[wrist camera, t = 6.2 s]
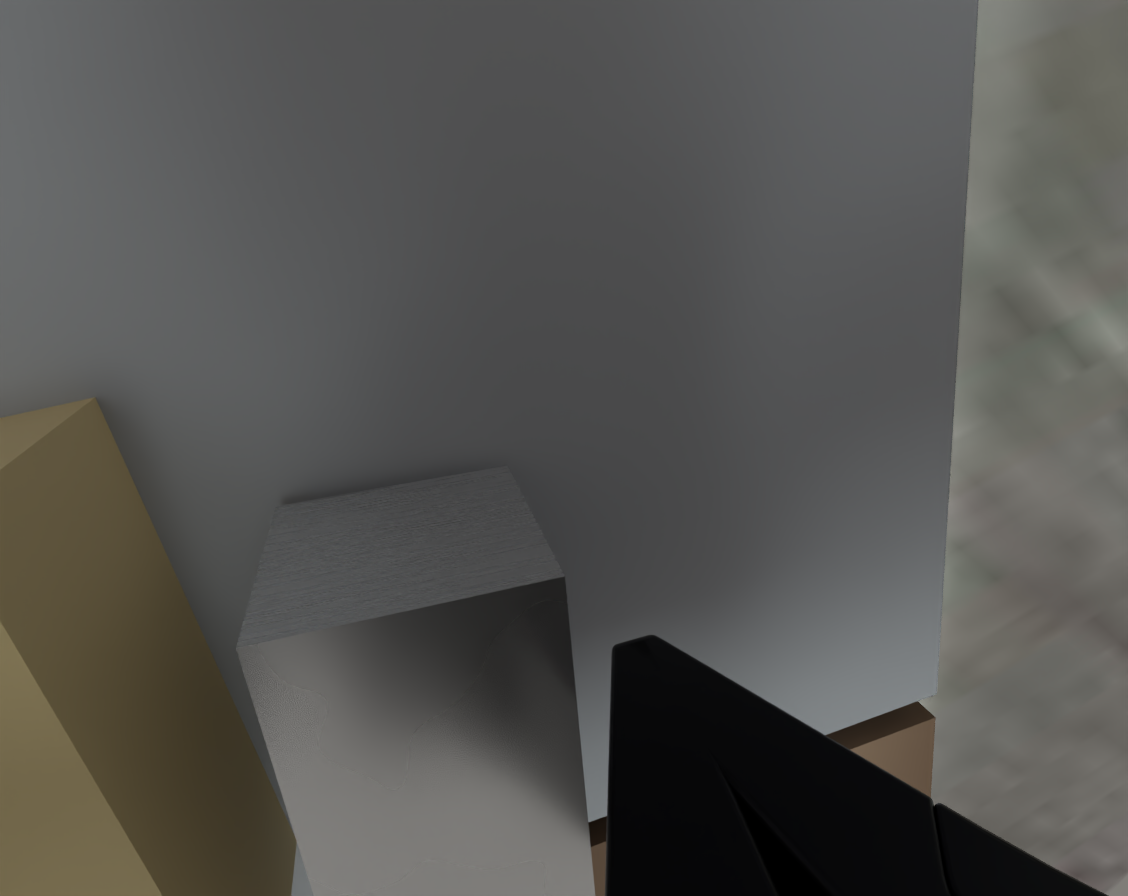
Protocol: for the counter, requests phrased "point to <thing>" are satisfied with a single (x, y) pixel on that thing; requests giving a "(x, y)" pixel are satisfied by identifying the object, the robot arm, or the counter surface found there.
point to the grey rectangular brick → (457, 361)
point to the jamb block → (882, 740)
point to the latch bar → (421, 692)
